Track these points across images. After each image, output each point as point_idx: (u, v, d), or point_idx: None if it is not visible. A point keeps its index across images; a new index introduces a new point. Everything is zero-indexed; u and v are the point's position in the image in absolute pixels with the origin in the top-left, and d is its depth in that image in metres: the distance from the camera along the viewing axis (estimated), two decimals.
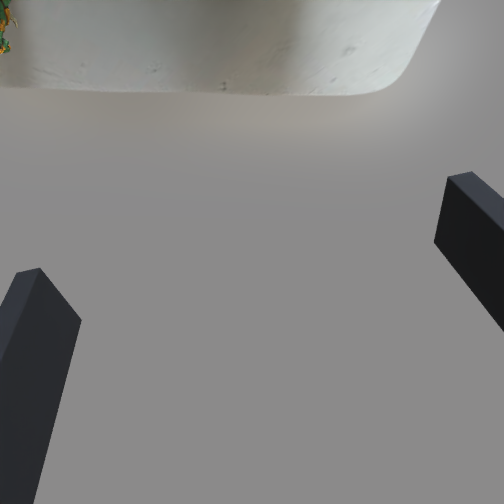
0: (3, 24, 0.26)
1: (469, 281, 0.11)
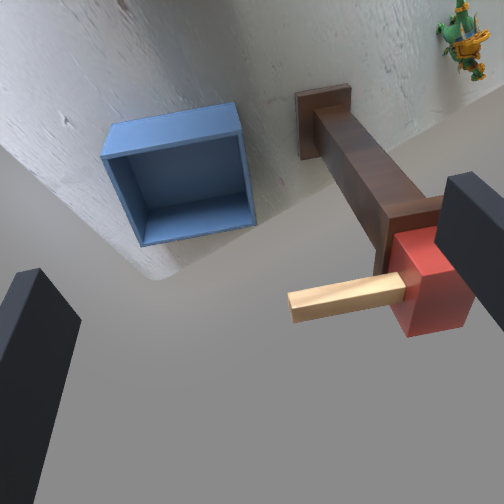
0: (477, 63, 0.44)
1: (469, 281, 0.11)
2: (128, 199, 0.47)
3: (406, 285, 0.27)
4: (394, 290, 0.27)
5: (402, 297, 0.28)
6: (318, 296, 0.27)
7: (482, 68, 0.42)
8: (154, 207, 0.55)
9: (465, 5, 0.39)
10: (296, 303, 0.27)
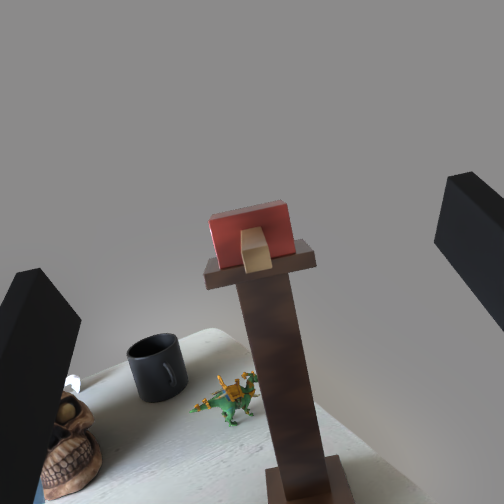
0: None
1: (468, 281, 0.11)
2: None
3: (239, 231, 0.32)
4: (242, 231, 0.31)
5: (254, 227, 0.32)
6: None
7: (244, 373, 0.57)
8: None
9: (203, 400, 0.54)
10: (242, 255, 0.25)
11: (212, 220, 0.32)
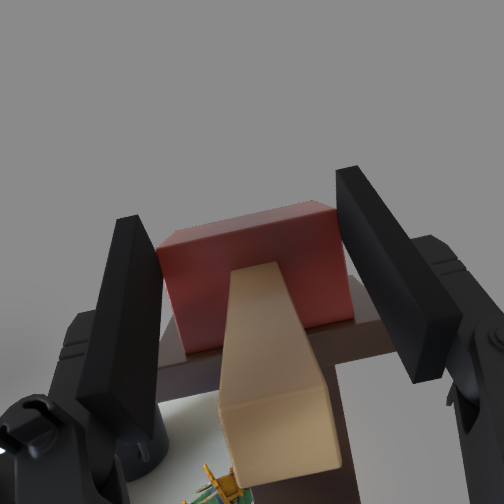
0: None
1: (355, 263, 0.13)
2: None
3: (228, 271, 0.14)
4: (234, 275, 0.13)
5: (260, 264, 0.14)
6: None
7: None
8: None
9: None
10: None
11: (164, 248, 0.14)
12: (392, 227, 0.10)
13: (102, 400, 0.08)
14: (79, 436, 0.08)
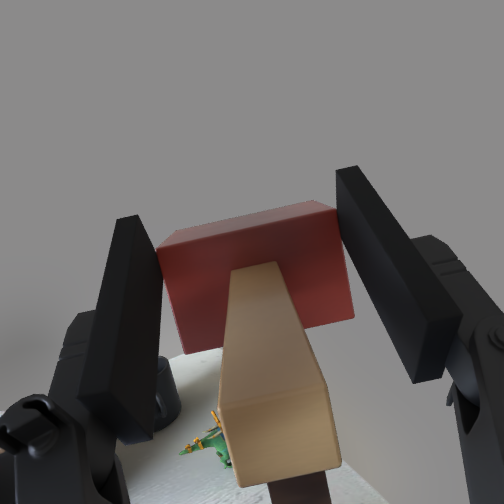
0: None
1: (355, 263, 0.13)
2: None
3: (228, 271, 0.14)
4: (234, 275, 0.13)
5: (260, 264, 0.14)
6: None
7: None
8: None
9: (195, 440, 0.48)
10: None
11: (164, 248, 0.14)
12: (392, 227, 0.10)
13: (102, 400, 0.08)
14: (79, 436, 0.08)
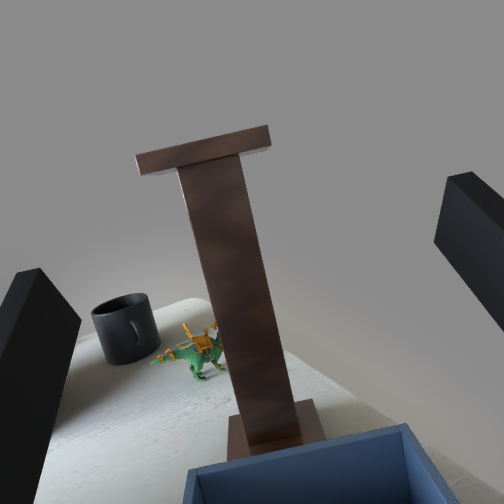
0: None
1: (469, 281, 0.11)
2: None
3: None
4: None
5: None
6: None
7: (214, 323, 0.51)
8: None
9: (167, 351, 0.48)
10: None
11: None
12: None
13: None
14: None
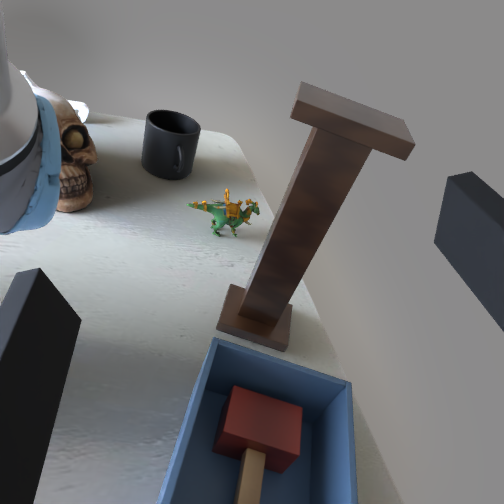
0: None
1: (468, 281, 0.11)
2: None
3: (245, 447, 0.32)
4: (247, 458, 0.32)
5: (259, 452, 0.32)
6: None
7: (249, 200, 0.57)
8: None
9: (203, 202, 0.55)
10: None
11: (227, 432, 0.32)
12: None
13: None
14: None
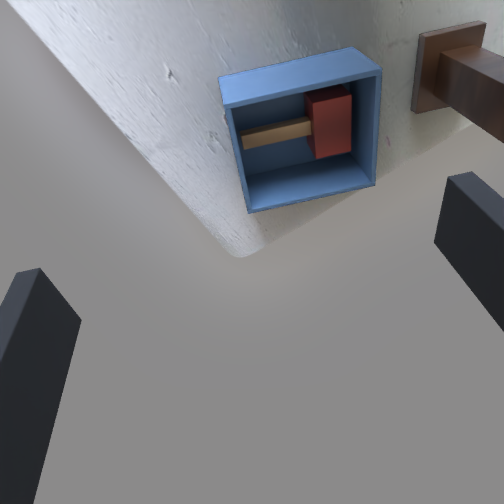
0: None
1: (469, 281, 0.11)
2: None
3: (310, 119, 0.44)
4: (303, 123, 0.44)
5: (310, 130, 0.45)
6: (258, 130, 0.45)
7: None
8: (251, 173, 0.51)
9: None
10: (244, 134, 0.44)
11: (312, 106, 0.41)
12: None
13: None
14: None
